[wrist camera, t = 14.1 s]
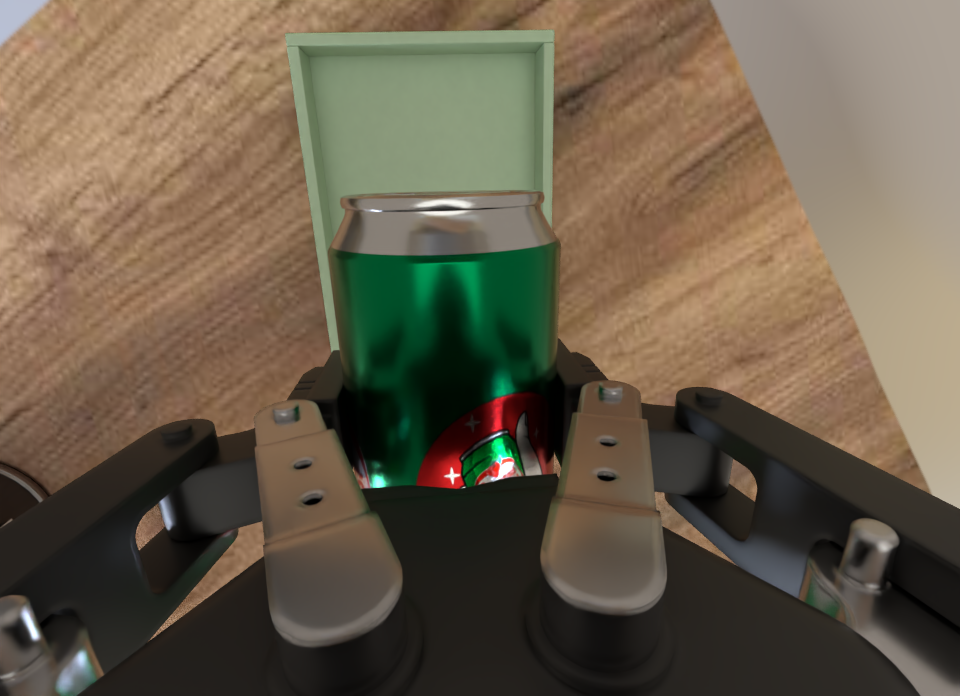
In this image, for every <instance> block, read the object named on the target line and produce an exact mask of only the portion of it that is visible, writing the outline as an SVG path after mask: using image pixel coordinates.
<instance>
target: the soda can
mask: <svg viewBox="0 0 960 696" xmlns="http://www.w3.org/2000/svg"><path fill="white" fill-rule="evenodd" d="M544 199H545V196H544V192H541V191H537V190H471V191H428V192H397V193H373V194H355V195H345V196H343V197H341V199H340V204H341V208H343V209H345V215H344V217H343V219H342V222H341V224H340V226H339V229H338V231H337V233H336V235H335V237H334V239H333V241H332V243H331V245H330V247H329V249H328V262H329V270H330V278H331V286H332V294H333V302H334V310H335V318H336V326H337V334H338V342H339V350H340V358H341V367H342V375H343V383H344V391H345V399H346V407H347V415H348V423H349V431H350V439H351V447H352V455H353V463H354V471H355V477H356V479H357V481H358V483H359V486H360V488H361V489H363V488H376V487H389V486H402V485H418V486H430V487H442V488H455V489H461V488H467V487H471V486H475V485H479V484H483V483H487V482H491V481H496V480H500V479H504V478H508V477H517V476H530V475H543V474H553V470H554V438H555V407H556V376H557V344H558V313H559V282H560V251H561V244H560V242H559V240H558V238H557V237H556V235H555V233H554V232H553V230H552V228H551V227H550V225H549V223H548V221H547V219H546V218H545V216H544V214H543V212H542V210H541V204H542V203H543V202H544Z"/></svg>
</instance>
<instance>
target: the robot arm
mask: <svg viewBox="0 0 960 696" xmlns="http://www.w3.org/2000/svg"><path fill="white" fill-rule="evenodd" d="M254 426H255V428H254V429H251V430H248V431H244V432H240V433H235V434H230V435H225V436H221V437H217V435H216V430H215V426H214V424H213V422H211V421H209V420H205V419H188V420H181V421H176V422H172V423H169V424H166V425H163V426H161V427H158V428H156V429H154V430H152V431H151V432H149V433H147V434H146V435H144V436H143V437H141V438H140V439H138V440H136V441H135V442H133V443H132V444H130V445H129V446H127V447H126V448H124V449H122V450H121V451H119V452H118V453H116V454H115V455H113V456H112V457H110V458H108V459H107V460H105V461H104V462H102V463H101V464H99V465H98V466H96V467H94V468H93V469H91V470H90V471H88V472H87V473H85V474H84V475H82V476H80V477H79V478H77V479H76V480H74V481H73V482H71V483H70V484H68V485H67V486H65V487H63V488H62V489H60V490H59V491H57V492H56V493H54V494H53V495H51V496H49V497H48V496H47V494H46V493H45V492H44V491H43V490H42V489H41V488H40V486H38V485H37V484H36V483H35V482H34V481H32V480H31V479H30V478H29V477H27V476H25V475H24V474H22V473H20V472H19V471H17V470H15V469H13V468H10V467H8V466H5V465H3V464H0V696H960V509H959V508H957V507H955V506H953V505H951V504H949V503H946V502H945V501H942V500H941V499H939V498H937V497H935V496H933V495H931V494H929V493H927V492H925V491H923V490H921V489H919V488H917V487H915V486H913V485H911V484H909V483H907V482H905V481H903V480H901V479H899V478H897V477H895V476H893V475H891V474H889V473H887V472H885V471H883V470H881V469H879V468H877V467H875V466H873V465H871V464H869V463H867V462H865V461H863V460H861V459H859V458H857V457H855V456H853V455H851V454H849V453H847V452H845V451H843V450H841V449H839V448H837V447H835V446H833V445H831V444H829V443H827V442H825V441H823V440H821V439H819V438H817V437H815V436H813V435H811V434H809V433H807V432H805V431H803V430H801V429H799V428H797V427H795V426H793V425H791V424H789V423H788V422H786V421H784V420H782V419H780V418H778V417H776V416H774V415H772V414H770V413H768V412H766V411H764V410H762V409H760V408H758V407H756V406H754V405H752V404H750V403H748V402H746V401H744V400H742V399H740V398H738V397H736V396H734V395H732V394H730V393H727V392H724V391H721V390H717V389H713V388H707V387H691V388H685V389H682V390H680V391H678V393H677V394H676V402H675V406H663V405H652V404H645V403H641V396H640V392H639V390H638V389H636V388H635V387H633V386H631V385H629V384H626V383H623V382H618V381H612V380H608V379H607V378H606V376H605V375H604V374H603V373H602V372H600V370H599V369H598V367H597V366H595V364H594V363H593V362H592V361H591V360H590V358H588V357H586V356H584V355H582V354H580V353H577V352H573V353H570V351H569V350H568V349H567V348H566V346H565V345H564V344H563V343H562V341H561V340H560V339H559V338H558V344H557V376H556V407H555V438H554V453H555V455H556V457H557V459H558V461H559V464H560V466H561V472H560V477H559V478H558V476H557V474H543V475H530V476H517V477H508V478H504V479H500V480H496V481H491V482H487V483H483V484H479V485H475V486H471V487H467V488H461V489H455V488H442V487H430V486H418V485H402V486H389V487H376V488H363V489H361V488H360V486H359V483H358V481H357V479H356V477H355V474H354V472H353V467H354V463H353V455H352V447H351V439H350V431H349V423H348V415H347V407H346V399H345V391H344V383H343V375H342V367H341V358H340V350H333V352H332V353H331V355H330V357H329V359H328V360H327V362H326V364H325V366H324V367H315V368H313V369H311V370H310V371H308V372H306V373H305V374H303V376H302V377H301V379H300V380H299V382H298V384H297V385H296V387H295V388H294V390H293V391H292V393H291V394H290V396H289V397H288V399H287V400H286V401H282V402H278V403H274V404H272V405H269V406H267V407H265V408H263V409H261V410H260V411H259V412H257V413H256V414H255V416H254ZM733 459H735V460H736V461H738V462H739V463H741V464H742V465H744V466H745V467H747V468H748V469H749V470H750V471H751V473H752V474H753V476H754V478H755V480H756V483H757V495H756V500H755V502H754V501H753V500H751V499H750V498H748V497H747V496H746V495H744V494H743V493H741V492H740V491H739V490H737V489H736V488H735V487H733V486H732V485H730V484H729V480H730V474H731V468H732V462H733ZM654 491H656V492H664V493H665V499H666V501H667V502H668V503H669V504H670V505H671V506H672V507H673V508H674V509H675V510H676V511H677V512H678V513H679V514H680V515H682V516H683V517H684V518H685V519H686V520H687V521H688V522H689V523H691V524H692V525H693V526H694V527H695V528H696V529H697V530H698V531H699V532H701V533H702V534H703V535H704V536H705V537H706V538H707V539H708V540H709V541H711V542H712V543H713V544H714V545H715V546H716V547H717V548H718V549H719V550H721V551H722V552H723V553H724V554H725V555H726V556H727V557H728V558H729V559H731V560H732V561H733V562H734V563H735V564H736V565H737V566H736V565H734V564H732V563H730V562H729V561H727V560H725V559H723V558H721V557H719V556H717V555H715V554H714V553H712V552H710V551H708V550H706V549H704V548H702V547H700V546H699V545H697V544H695V543H693V542H691V541H689V540H687V539H685V538H683V537H682V536H680V535H678V534H676V533H674V532H672V531H670V530H668V529H667V528H665V527H663V526H662V521H661V515H660V512H659V511H657V510H656V502H655V492H654ZM157 503H158V504H159V507H160V510H161V514H162V517H163V521H164V524H165V527H164V528H163V529H162V530H161V531H160V532H159V533H158V534H157V535H156V536H155V537H154V538H152V539H151V540H150V541H149V542H148V543H147V544H146V545H145V546H144V547H143V548H142V549H140V550H138V547H137V544H136V538H135V535H136V529H137V526H138V524H139V522H140V520H141V519H142V517H143V516H144V515H145V514H146V513H147V512H148V511H149V510H150V509H151V508H153V507H154V506H155V505H156V504H157ZM261 521H262V522H263V532H264V541H265V545H263V551H264V556H263V557H262V558H261V559H259V560H258V561H257V562H255V563H254V564H253V565H251V566H250V567H249V568H247V569H246V570H245V571H243V572H242V573H240V574H239V575H238V576H236V577H235V578H234V579H232V580H231V581H230V582H228V583H227V584H226V585H224V586H223V587H222V588H220V589H219V590H218V591H216V592H215V593H214V594H212V595H211V596H210V597H208V598H207V599H205V600H204V601H203V602H201V603H200V604H199V605H197V606H196V607H195V608H193V609H192V610H191V611H189V612H188V613H187V614H185V615H184V616H183V617H181V618H180V619H179V620H177V621H176V622H174V623H173V624H172V625H170V626H169V627H168V628H166V629H165V630H164V631H162V632H161V633H160V634H158V635H157V636H156V637H154V638H153V639H152V640H150V639H151V637H152V636H153V635H154V634H155V633H156V632H157V630H158V629H159V628H160V627H161V626H162V625H163V623H164V622H165V621H166V620H167V619H168V618H169V616H170V615H171V614H172V613H173V612H174V611H175V609H176V608H177V607H178V606H179V605H180V604H181V602H182V601H183V600H184V599H185V598H186V597H187V595H188V594H189V593H190V592H191V591H192V590H193V588H194V587H195V586H196V585H197V584H198V583H199V581H200V580H201V579H202V578H203V577H204V576H205V574H206V573H207V572H208V571H209V570H210V569H211V567H212V566H213V565H214V564H215V563H216V562H217V560H218V559H219V558H220V557H221V556H222V555H223V553H224V552H225V551H226V550H227V549H228V548H229V546H230V545H231V544H232V543H233V542H234V540H235V539H236V537H237V535H238V532H239V531H238V528H240V527H243V526H247V525H250V524H254V523H257V522H261ZM149 640H150V641H149ZM148 641H149V642H148ZM147 642H148V643H147Z"/></svg>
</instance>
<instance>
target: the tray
mask: <svg viewBox="0 0 960 696" xmlns="http://www.w3.org/2000/svg"><path fill="white" fill-rule="evenodd" d="M285 37H286V44H287V46H288V47H287V51H288V58H289V65H290V72H291V79H292V86H293V93H294V99H295V106H296V113H297V120H298V127H299V134H300V141H301V148H302V155H303V161H304V168H305V175H306V182H307V189H308V196H309V203H310V210H311V217H312V223H313V230H314V237H315V244H316V251H317V258H318V265H319V272H320V279H321V285H322V292H323V299H324V306H325V313H326V320H327V327H328V334H329V341H330V347H331V353H332V352H333V350H339V342H338V334H337V326H336V318H335V310H334V302H333V294H332V286H331V278H330V270H329V262H328V249H329V247H330V245H331V243H332V241H333V239H334V237H335V235H336V233H337V231H338V229H339V226H340V224H341V222H342V219H343V217H344V215H345V209H343V208H341V204H340V199H341V197H343V196H345V195H355V194H373V193H397V192H428V191H471V190H537V191H541V192H544V196H545V199H544V202H543V203H542V204H541V210H542V212H543V214H544V216H545V218H546V219H547V221H548V223H549V225H550V227H551V228H552V174H553V102H554V43H553V42H554V30H487V31H409V32H330V33H285Z"/></svg>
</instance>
